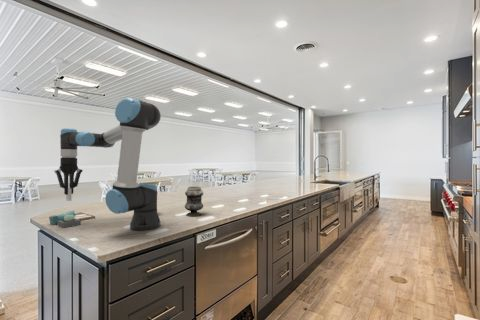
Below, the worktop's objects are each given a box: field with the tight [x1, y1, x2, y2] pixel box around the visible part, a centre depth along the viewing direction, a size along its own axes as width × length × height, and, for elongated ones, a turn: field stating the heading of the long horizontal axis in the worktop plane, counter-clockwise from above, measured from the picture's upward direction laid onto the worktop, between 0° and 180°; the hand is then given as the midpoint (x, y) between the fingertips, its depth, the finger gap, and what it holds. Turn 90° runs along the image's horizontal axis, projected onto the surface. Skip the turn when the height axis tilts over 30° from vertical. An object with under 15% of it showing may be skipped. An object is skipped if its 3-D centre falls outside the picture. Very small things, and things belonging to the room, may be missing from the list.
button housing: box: [56, 218, 81, 229], centre depth 133 cm, size 8×8×2 cm
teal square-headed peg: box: [48, 210, 76, 225], centre depth 139 cm, size 4×4×11 cm
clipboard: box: [74, 212, 96, 222], centre depth 149 cm, size 20×16×2 cm
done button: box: [64, 215, 74, 222], centre depth 133 cm, size 4×4×3 cm
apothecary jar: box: [184, 186, 204, 217], centre depth 159 cm, size 12×12×18 cm
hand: (68, 200), depth 133 cm, fingers closed
